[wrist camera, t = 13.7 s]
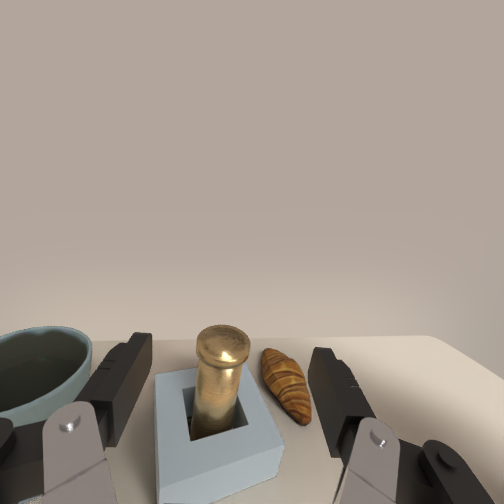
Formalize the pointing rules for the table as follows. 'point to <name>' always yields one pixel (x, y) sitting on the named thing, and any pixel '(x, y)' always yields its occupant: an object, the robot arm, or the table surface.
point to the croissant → (287, 384)
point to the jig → (211, 443)
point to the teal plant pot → (41, 372)
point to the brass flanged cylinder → (217, 379)
